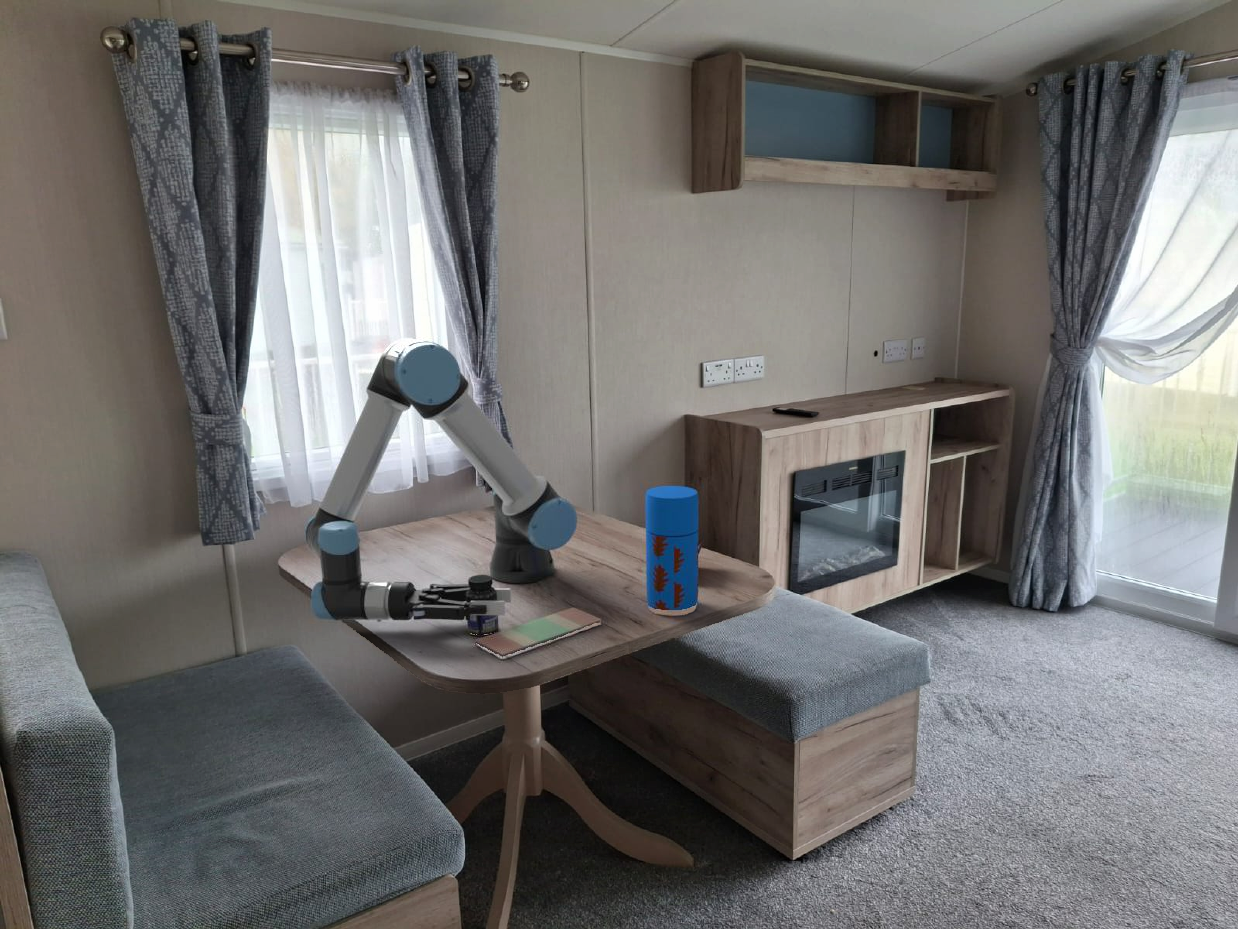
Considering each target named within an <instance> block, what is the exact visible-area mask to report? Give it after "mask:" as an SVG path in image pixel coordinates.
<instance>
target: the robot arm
mask: <svg viewBox="0 0 1238 929" xmlns="http://www.w3.org/2000/svg"><path fill="white" fill-rule="evenodd" d="M372 373H373V374H372V376H371V378H370V381H369V383H368V385H367V387H366V389H365V392H366V394H367V399H366V402H365V403H364V404H365V405H364V407H363V408H362V411H361V413H360V416H359V418H358V420H357V423H356V425H355V426H354V430H353V431H352V434H351V436H350V438H349V440H348V443H347V445H346V447H345V449H344V452H343V453H342V456H341V458H340V460H339V463H338V465H337V467H336V470H335V472H334V474H333V477H332V479H331V481H330V483H329V484H328V485H329V486H328V487H327V490H326V492H325V495H324V497H323V499H322V501H321V504H320V505H319V507H318V510H317V512H316V515H314V516H313V517H311V518H310V519H309V520H308V521H307V522H306V525H305V527H304V537H305V540H306V543H307V545H308V546H309V548H311V550H313V551H314V554H315V555H316V556H317V558H318V559H319V560H320V569H321V577H322V578H321V579H322V580H321V581H319V582H317V583H314V584H315V585H314V586H313V587H312V590H311V595H310V596H311V597H310V598H311V599H310V608H311V609H310V610H311V611H312V614H313V616H314V617H316V618H318V619H319V620H331V621H332V620H333V621H349V620H350V621H356V620H357V621H358V620H359V621H361V620H367V621H371V620H373V621H376V622H378V623H381V621H389V620H390V619H391V620H392V621H410V620H412V619H413V620H415V621H417V620H420V621H421V620H446V621H451V620H452V621H464V620H465V621H467V620H470V614H471V615H498V616H505V614H506V606H505V604H506V603H511V602H512V592H511V591H512V590H511V588H508V587H507V588H505V587H504V588H501V587H500V588H499V587H498V588H497V587H495V588H494V587H493V588H494V589H495V590H496V592H497V601H471V602H470V605H469V603H467V602H466V592H467V591H468V590H469V589H470V587H469V585H468V583H458V584H455V583H453V584H450V583H449V584H439V583H438V584H437V583H431V584H429V587H428V588H422V589H416V588H415V585H414V583H413V582H410V581H395V582H392V581H363V578H362V577H363V576H362V575H363V574H362V566H361V549H360V548H361V547H360V543H361V539H360V537H359V530H358V526H357V524H356V523H354V522H355V519H356V516H357V514H358V513H359V510H360V508H361V506H362V504H363V501H364V499H365V497H366V494H367V493H368V490H369V487H370V486H371V483H372V481H373V479H374V477H375V475H376V473H377V471H378V468H379V465H380V463H381V461H382V459H383V457H384V455H385V452H386V450H387V448H388V446H389V443H390V441H391V440H392V436H393V435H394V432H395V430H396V427H397V426H398V424H399V421H400V418H401V417H402V415H403V412H406V411H409V410H410V408H411V406H412V407H413V408H414V409H415V411H416V412H417V413H418V414H419V416H420V417H422V418H423V420H428V421H429V420H430V421H435V423H437V424H438V426H439V427H440V429H441V430H443V432H444V433H445V434H446V435H447V437H448V438H449V440H451V441H452V442H453V444H454V446H456V447H457V448H458V449H459V451H460V452H461V453H462V455H463V456H464V457H465V458H466V460H468V462H469V463H470V465H472V466H473V467H474V468H475V470H476V471H477V473H479V475H480V476H481V477H482V478H483V480H484V481H486V483H487V484H488V485H489V486H490V488H492V490H493V493H492V497H493V512H494V513H493V514H494V531H495V545H494V548H493V551H492V552H493V553H492V556H491V559H490V560H491V561H490V563H489V576H491V577H492V580H493V579H494V580H495V581H498V582H502V583H509V584H526V583H525V582H527V583H534V582H539V581H542V580H545V579H548V578H549V577H552V575H553V574H554V573H555V561H554V559H553V556H552V553H551V551H553V550H557V549H560V548H562V547H564V546H565V545H566V544H568V543H569V542H570V540H571V539H572V538H573V536H574V535H575V532H576V530H577V525H578V514H577V510H576V508H575V507H574V505H573V504H571V502H570V501H569V500H567V499H566V498H564V497H561V496H560V494H558V492H557V491H556V490H555V489H554V487H553V486H552V485H551V484H550V483H549V481H548V480H547V479H546V477H545V476H542V475H534V474H533V473H532V471H531V470H530V469H529V468H528V467H527V465H526V464H525V463H524V461H523V460H522V459H521V458H520V456H518V454H517V453H516V452H515V450H514V449H513V448H512V446H511V445H510V444H509V443H508V441H507V440H506V439H505V438H504V437H503V435H502V434H501V433H500V432H499V431H498V429H497V428H496V427H495V425H494V424H493V422H491V421H490V419H489V418H488V417H487V415H486V414H485V413H484V411H482V409H481V408H480V406H479V405H478V404H477V403H476V402H475V401H474V400H473V398H472V397H471V395H470V394H469V389H470V383H469V381H468V380H467V378H465V376H464V375H463V373H461V368H460V366H459V363H458V360H457V359H456V357H455V356H454V355H453V353H451V352H450V351H449V350H448V349H447V348H446V347H444V346H443V345H440V344H438V343H436V342H433V341H428V340H427V341H425V340H421V339H420V340H419V339H415V338H403V339H399V340H397V341H395V342H392V343H391V344H390V345H389V346H388V347H387V348H386V349H385V350H384V351H383V353H382V354H381V356H380V358H379V360H378V362H377V364H376V366H375V369H374V371H373V372H372Z"/></svg>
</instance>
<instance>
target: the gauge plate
mask: <svg viewBox="0 0 1238 929" xmlns="http://www.w3.org/2000/svg"><path fill="white" fill-rule="evenodd" d="M600 621H602V618H600V617H597V616H595V615H592V614H590V613H588V612H586V611H583V610H581V609H578V608H576V607H575V606H574V607H571V608H567V609H563V610H562V611H561V610H560V611H558V612H556V613H553V614H550V615H549V614H548V615H546V616H543V617H540V618H538V619H534V620H532V621H528V622H525V623H522V624H518V625H515V626H513V627H510V628H506V629H504V630H501V631H497V632H495V633H494V634H491V635H487V636H481V637H480V638H476V639H475V640H474V641H475V642H474V643H475V644H476V643H477V644H479V645H480V646H482V647H485V648H487V649H488V650H490V651H492V652H494V653H495V654H499V655H500V656H502V657H503V656H506V655H508V654H513V653H515V652H517V651H520V650H525V649H526V648H528V647H533V646H535V645H537V644H540V643H545V642H547V641H549V640H554V639H556V638H558V637H562V636H564V635H566V634H568V633H572V632H574V631H576V630H580V629H582V628H584V627H586V626H590V625H592V624H594V623H599V622H600Z"/></svg>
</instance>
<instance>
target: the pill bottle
mask: <svg viewBox="0 0 1238 929" xmlns="http://www.w3.org/2000/svg"><path fill="white" fill-rule="evenodd" d="M467 580H468V581H467V584H468V585H469V587H470V589H469V590H468V591H467V592H466V601H465V602H467V603H469V605H470V602H471V601H497V592H496V590H495V589H494V587H492V586H493V584H494V583H493V578H492V577H491V576H490V574H476V575H472V576H470V577H469V578H468V579H467ZM466 622H467V625H466V626H467V632H468V634H470V633H472V634H475V635H476V634H477V635H484V634H490V633H494V632H495V633H497V632H498V631H497V630H499V628H500V627H499V615H471V614H470V620H466ZM496 631H497V632H496Z"/></svg>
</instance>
